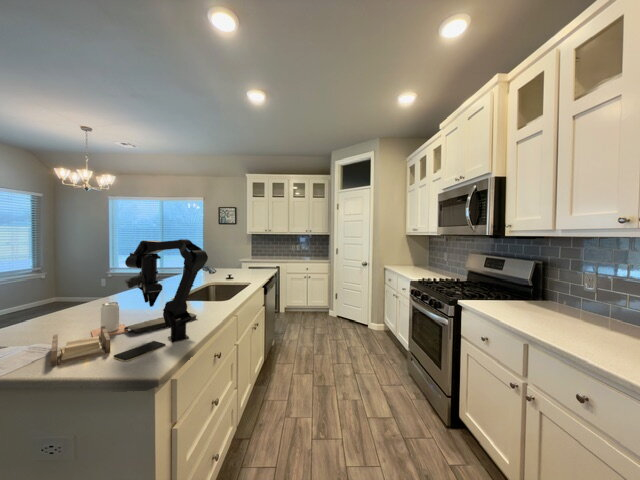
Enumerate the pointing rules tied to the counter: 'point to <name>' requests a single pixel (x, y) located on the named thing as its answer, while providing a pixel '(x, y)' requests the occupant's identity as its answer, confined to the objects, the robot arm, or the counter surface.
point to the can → (110, 316)
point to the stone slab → (152, 324)
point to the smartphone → (139, 351)
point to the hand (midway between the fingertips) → (148, 304)
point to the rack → (80, 348)
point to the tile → (121, 330)
